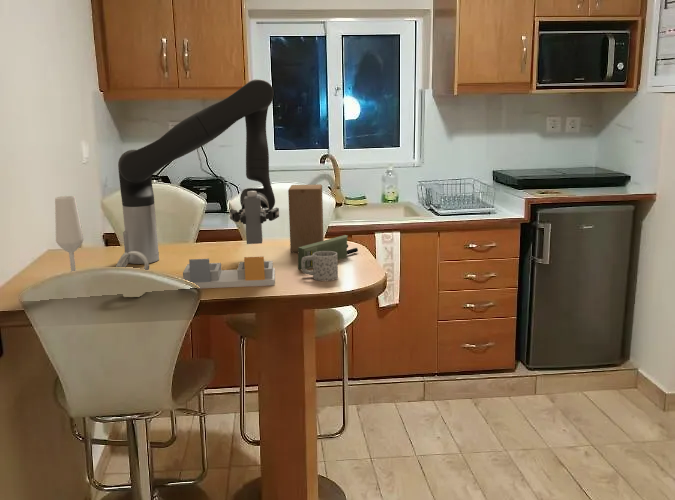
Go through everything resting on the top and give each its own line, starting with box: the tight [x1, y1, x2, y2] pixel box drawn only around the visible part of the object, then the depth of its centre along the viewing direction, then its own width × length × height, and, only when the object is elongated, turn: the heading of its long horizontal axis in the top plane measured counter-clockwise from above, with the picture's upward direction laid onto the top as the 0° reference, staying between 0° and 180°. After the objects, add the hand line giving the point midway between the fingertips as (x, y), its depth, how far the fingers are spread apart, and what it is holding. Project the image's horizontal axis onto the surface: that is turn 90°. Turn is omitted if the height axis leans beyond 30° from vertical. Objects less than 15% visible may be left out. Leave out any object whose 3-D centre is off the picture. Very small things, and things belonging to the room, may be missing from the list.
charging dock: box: [182, 256, 276, 289], centre depth 179 cm, size 24×12×8 cm, turn 95°
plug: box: [244, 191, 263, 245], centre depth 177 cm, size 4×4×14 cm
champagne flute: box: [54, 195, 85, 273], centre depth 174 cm, size 7×7×24 cm
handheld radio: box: [297, 234, 359, 271], centre depth 199 cm, size 7×3×25 cm
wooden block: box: [287, 183, 325, 253], centre depth 214 cm, size 10×10×20 cm
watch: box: [115, 251, 150, 271], centre depth 169 cm, size 6×8×11 cm
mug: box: [301, 251, 339, 282], centre depth 181 cm, size 10×7×7 cm, turn 77°
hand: (253, 219), depth 174 cm, fingers closed on plug, 4 cm apart
